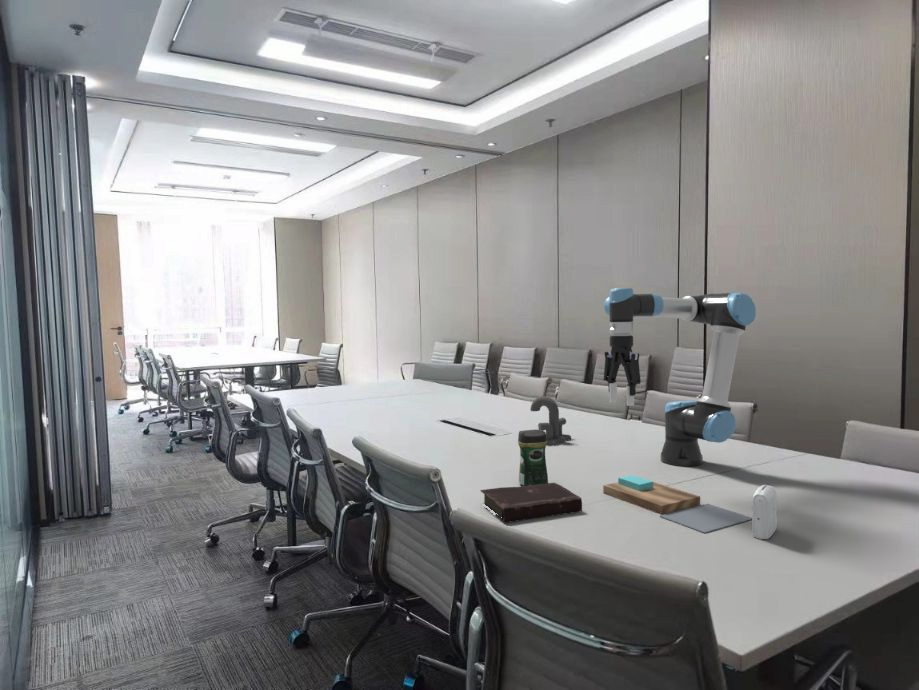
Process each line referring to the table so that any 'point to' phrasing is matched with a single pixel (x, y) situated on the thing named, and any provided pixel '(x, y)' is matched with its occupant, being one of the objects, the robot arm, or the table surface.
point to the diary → (531, 501)
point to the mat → (706, 518)
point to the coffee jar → (532, 457)
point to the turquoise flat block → (635, 482)
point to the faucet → (551, 420)
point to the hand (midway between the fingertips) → (621, 403)
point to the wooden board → (654, 497)
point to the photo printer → (764, 512)
